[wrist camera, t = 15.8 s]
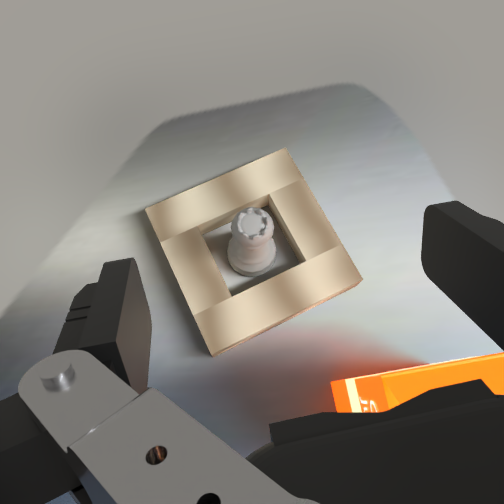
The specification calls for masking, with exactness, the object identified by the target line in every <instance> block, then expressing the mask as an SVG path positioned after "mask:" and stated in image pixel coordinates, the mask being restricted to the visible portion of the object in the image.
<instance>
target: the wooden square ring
mask: <svg viewBox="0 0 504 504" xmlns="http://www.w3.org/2000/svg"><path fill="white" fill-rule="evenodd" d="M267 205H268V206H269V208H270V210H271V212H272V213H273V215H274V217H275V219H276V221H277V223H278V224H279V226H280V228H281V230H282V232H283V233H284V235H285V237H286V239H287V241H288V243H289V244H290V246H291V248H292V250H293V252H294V254H295V255H296V257H297V259H298V261H299V263H300V264H299V265H297V266H295V267H293V268H291V269H289V270H287V271H285V272H283V273H281V274H278V275H276V276H274V277H272V278H270V279H268V280H266V281H264V282H262V283H260V284H258V285H256V286H254V287H251V288H249V289H247V290H245V291H243V292H241V293H239V294H237V295H235V296H233V297H232V296H231V294H230V292H229V290H228V288H227V285H226V283H225V281H224V279H223V277H222V275H221V273H220V271H219V269H218V267H217V265H216V263H215V261H214V259H213V257H212V255H211V253H210V251H209V249H208V247H207V245H206V242H205V240H204V238H203V236H202V235H203V234H205V233H207V232H210V231H212V230H214V229H216V228H218V227H221V226H223V225H225V224H227V223H229V222H232V220H233V218H234V217H235V215H236V214H237V213H238V212H240V211H241V210H243V209H245V208H248V207H255V208H262V207H265V206H267ZM145 211H146V213H147V215H148V217H149V219H150V222H151V224H152V226H153V228H154V230H155V232H156V235H157V237H158V239H159V241H160V243H161V246H162V248H163V250H164V252H165V254H166V257H167V259H168V261H169V263H170V265H171V268H172V270H173V272H174V274H175V276H176V279H177V281H178V283H179V285H180V287H181V290H182V292H183V294H184V296H185V298H186V301H187V303H188V305H189V307H190V309H191V312H192V314H193V316H194V318H195V320H196V323H197V325H198V327H199V329H200V331H201V334H202V336H203V338H204V340H205V342H206V345H207V347H208V349H209V351H210V353H211V355H212V356H213V357H215V356H217V355H219V354H221V353H223V352H225V351H227V350H229V349H231V348H233V347H235V346H237V345H239V344H241V343H243V342H245V341H247V340H249V339H251V338H253V337H255V336H257V335H259V334H261V333H263V332H265V331H267V330H269V329H271V328H273V327H275V326H277V325H279V324H281V323H283V322H285V321H287V320H289V319H291V318H293V317H295V316H297V315H299V314H301V313H303V312H305V311H307V310H309V309H311V308H313V307H315V306H317V305H319V304H321V303H323V302H325V301H327V300H329V299H331V298H333V297H335V296H337V295H339V294H341V293H343V292H345V291H347V290H349V289H351V288H353V287H355V286H357V285H358V284H359V283H360V282H361V281H362V280H363V278H362V277H361V275H360V273H359V272H358V270H357V268H356V266H355V265H354V263H353V261H352V260H351V258H350V256H349V255H348V253H347V251H346V249H345V248H344V246H343V244H342V243H341V241H340V239H339V238H338V236H337V234H336V232H335V231H334V229H333V227H332V226H331V224H330V222H329V221H328V219H327V217H326V215H325V214H324V212H323V210H322V209H321V207H320V205H319V204H318V202H317V200H316V198H315V197H314V195H313V193H312V192H311V190H310V188H309V186H308V185H307V183H306V181H305V180H304V178H303V176H302V175H301V173H300V171H299V169H298V168H297V166H296V164H295V163H294V161H293V159H292V158H291V156H290V154H289V152H288V151H287V149H286V148H283V149H281V150H279V151H276V152H274V153H272V154H270V155H267V156H265V157H263V158H260V159H258V160H256V161H253V162H251V163H249V164H247V165H244V166H242V167H240V168H237V169H235V170H233V171H231V172H228V173H226V174H224V175H221V176H219V177H217V178H214V179H212V180H210V181H208V182H205V183H203V184H201V185H198V186H196V187H194V188H191V189H189V190H187V191H185V192H182V193H180V194H178V195H175V196H173V197H171V198H168V199H166V200H164V201H162V202H159V203H157V204H155V205H152V206H150V207H148V208H146V209H145Z"/></svg>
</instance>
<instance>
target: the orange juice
mask: <svg viewBox="0 0 504 504" xmlns="http://www.w3.org/2000/svg"><path fill="white" fill-rule="evenodd" d="M458 359H459V358H458ZM480 378H481V379H482V380H483V381H484V383H485V384H486V385H487V386H488V387H489V388H490V389H491V390H492V392H493V393H494V394H502V395H504V352H503V353H497V354H491V355H486V356H477V357H471V358H464V359H459V360H454V359H453V361H447V362H441V363H436V362H435V364H429V365H423V366H419V365H418V366H417V367H412V368H409V367H408V368H406V369H403V368H402V369H400V370H398V369H397V370H395V371H392V370H391V371H389V372H383V373H378V374H372V375H366V376H361V377H355V378H349V379H344V380H338V381H332V382H331V386H332V391H333V395H334V400H335V405H336V410H337V412H384V411H387V410H389V409H391V408H393V407H395V406H397V405H399V404H401V403H403V402H405V401H407V400H410V399H412V398H414V397H416V396H418V395H420V394H422V393H424V392H426V391H428V390H430V389H434V388H438V387H443V386H448V385H452V384H457V383H462V382H466V381H471V380H476V379H480Z"/></svg>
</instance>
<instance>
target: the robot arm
mask: <svg viewBox="0 0 504 504" xmlns="http://www.w3.org/2000/svg"><path fill="white" fill-rule="evenodd" d="M421 262H422V266H423V269H424V272H425V274H426V275H427V277H428V278H429V279H430V280H431V281H432V282H433V283H434V284H435V285H436V286H437V287H438V288H439V289H440V290H442V291H443V292H444V293H445V294H446V295H447V296H448V297H449V298H450V299H451V300H452V301H453V302H454V303H455V304H456V305H457V306H458V307H459V308H460V309H461V310H462V311H463V312H464V313H465V314H466V315H467V316H468V317H469V318H470V319H471V320H473V321H474V322H475V323H476V324H477V325H478V326H479V327H480V328H481V329H482V330H483V331H484V332H485V333H486V334H487V335H488V336H489V337H490V338H491V339H492V340H493V341H494V342H495V343H496V344H497V345H498V346H499V347H500V348H501V349H502V350H503V351H504V224H503V223H502V222H500V221H498V220H496V219H493V218H489V217H486V216H483V215H481V214H479V213H477V212H476V211H474V210H472V209H470V208H469V207H467V206H465V205H464V204H462V203H460V202H459V201H451V202H445V203H439V204H434V205H429V206H428V207H427V208H426V209H425V212H424V221H423V235H422V250H421ZM151 333H152V323H151V315H150V310H149V306H148V302H147V299H146V295H145V292H144V288H143V284H142V281H141V277H140V274H139V270H138V267H137V264H136V261H135V259H134V258H127V259H122V260H116V261H110V262H105V263H104V264H103V268H102V271H101V274H100V277H99V281H98V282H97V283H92V284H87V285H86V286H85V287H84V288H83V289H82V290H81V291H80V292H79V293H78V294H77V295H76V296H75V297H74V299H73V302H72V304H71V307H70V312H68V315H67V317H66V323H64V325H63V328H62V331H61V333H60V336H59V338H58V341H57V344H56V346H55V349H54V352H53V354H52V355H51V356H48V357H47V358H45V359H43V360H41V361H39V362H38V363H36V364H35V365H34V366H33V367H31V368H30V369H29V370H28V371H27V372H26V373H25V375H24V376H23V377H22V379H21V381H20V383H19V387H18V393H17V394H15V395H13V396H11V397H8V398H6V399H4V400H1V401H0V504H45V503H47V502H49V501H51V500H53V499H55V498H57V497H59V496H61V495H62V494H64V493H66V492H69V494H70V495H71V496H72V498H73V499H74V501H75V502H76V503H77V504H504V395H502V394H494V393H493V392H492V390H491V389H490V388H489V387H488V386H487V385H486V384H485V383H484V381H483V380H482V379H481V378H480V379H476V380H471V381H466V382H462V383H457V384H452V385H448V386H443V387H438V388H434V389H430V390H428V391H426V392H424V393H422V394H420V395H418V396H416V397H414V398H412V399H410V400H407V401H405V402H403V403H401V404H399V405H397V406H395V407H393V408H391V409H389V410H387V411H384V412H322V413H318V414H313V415H309V416H304V417H299V418H295V419H290V420H285V421H281V422H276V423H271V424H269V427H270V434H271V441H272V442H270V443H268V444H266V445H264V446H263V447H261V448H259V449H258V450H256V451H255V452H253V453H251V454H250V455H249V456H248V457H246V458H244V457H242V456H241V455H240V454H238V453H237V452H236V451H235V450H233V449H232V448H231V447H230V446H228V445H227V444H226V443H224V442H223V441H222V440H221V439H219V438H218V437H217V436H216V435H214V434H213V433H212V432H210V431H209V430H208V429H207V428H205V427H204V426H203V425H201V424H200V423H199V422H198V421H196V420H195V419H194V418H193V417H191V416H190V415H189V414H187V413H186V412H185V411H184V410H182V409H181V408H180V407H179V406H177V405H176V404H175V403H173V402H172V401H171V400H170V399H168V398H167V397H166V396H165V395H163V394H162V393H161V392H159V391H158V390H156V389H154V388H148V389H147V384H148V371H149V358H150V345H151Z"/></svg>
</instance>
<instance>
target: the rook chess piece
mask: <svg viewBox="0 0 504 504" xmlns="http://www.w3.org/2000/svg"><path fill="white" fill-rule="evenodd" d="M231 230H232V235H233V237H232V238H231V239H230V241H229V245H228V249H227V256H228V260H229V263H230V265H231V266H232V267H233V269H234V270H235V271H237V272H238V273H240V274H241V275H244V276H250V277H254V276H259V275H262V274H264V273H265V272H267V271H268V270H270V268H271V267H272V265H273V264H274V262H275V258H276V246H275V242H274V240H273V238H272V235H273V231H274V224H273V220H272V218H271V217H270V215H269V214H268V213H267V212H265V211H264V210H262V209H260V208H255V207H248V208H245V209H243V210H241V211H240V212H238V213H237V214H236V215H235V217H234V218H233V220H232V225H231Z"/></svg>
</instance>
